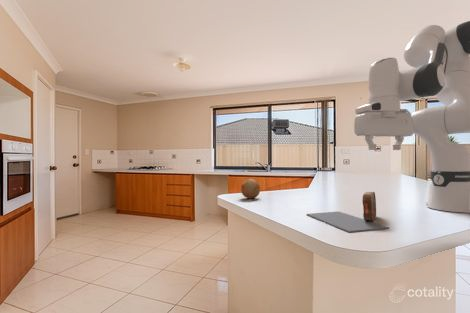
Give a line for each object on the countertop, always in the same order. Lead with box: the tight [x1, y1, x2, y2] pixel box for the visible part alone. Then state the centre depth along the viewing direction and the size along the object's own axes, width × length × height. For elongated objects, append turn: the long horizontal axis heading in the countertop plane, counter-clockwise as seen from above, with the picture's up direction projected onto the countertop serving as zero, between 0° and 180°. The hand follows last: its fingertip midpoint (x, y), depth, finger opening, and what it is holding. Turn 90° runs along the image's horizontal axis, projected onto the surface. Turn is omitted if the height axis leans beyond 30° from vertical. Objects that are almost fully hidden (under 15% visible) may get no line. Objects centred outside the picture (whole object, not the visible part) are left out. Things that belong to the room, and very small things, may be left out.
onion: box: [240, 178, 261, 199], centre depth 127 cm, size 10×10×10 cm
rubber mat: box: [306, 211, 390, 233], centre depth 79 cm, size 13×22×1 cm, turn 14°
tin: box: [362, 191, 377, 223], centre depth 80 cm, size 15×3×8 cm, turn 147°
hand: (384, 150), depth 82 cm, fingers open, 8 cm apart
